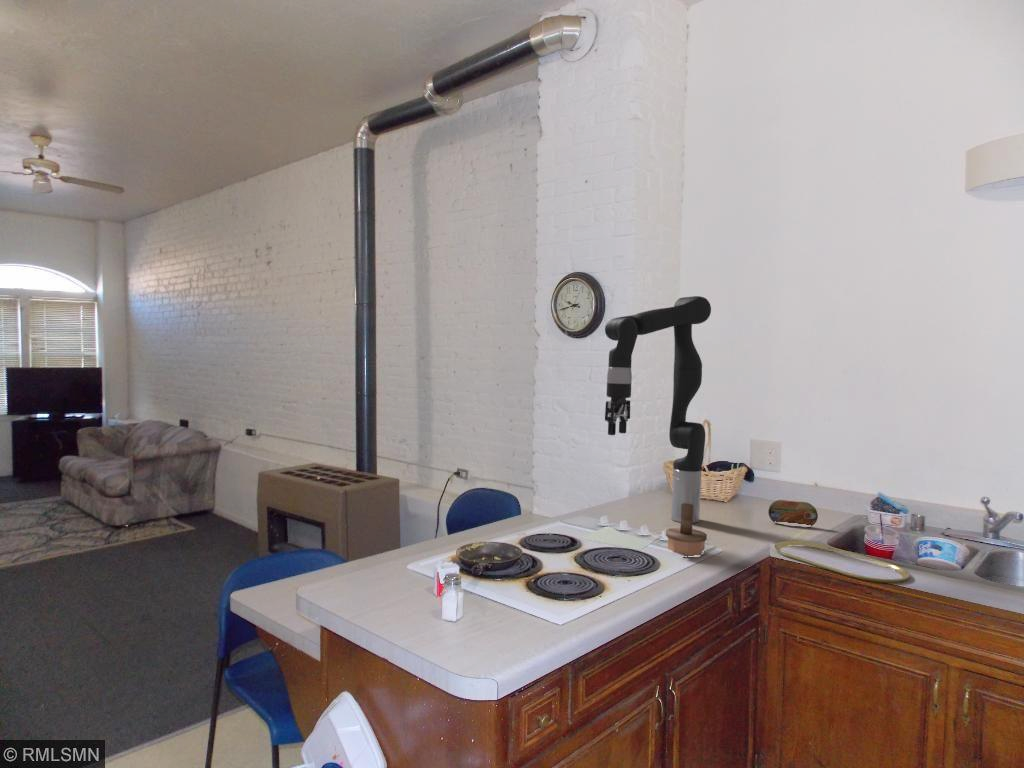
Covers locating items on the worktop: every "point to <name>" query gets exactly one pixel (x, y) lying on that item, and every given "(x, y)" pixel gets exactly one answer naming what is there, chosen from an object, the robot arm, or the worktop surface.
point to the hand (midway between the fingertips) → (617, 434)
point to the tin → (793, 512)
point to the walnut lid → (686, 527)
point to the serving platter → (898, 569)
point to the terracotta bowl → (686, 547)
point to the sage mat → (618, 538)
